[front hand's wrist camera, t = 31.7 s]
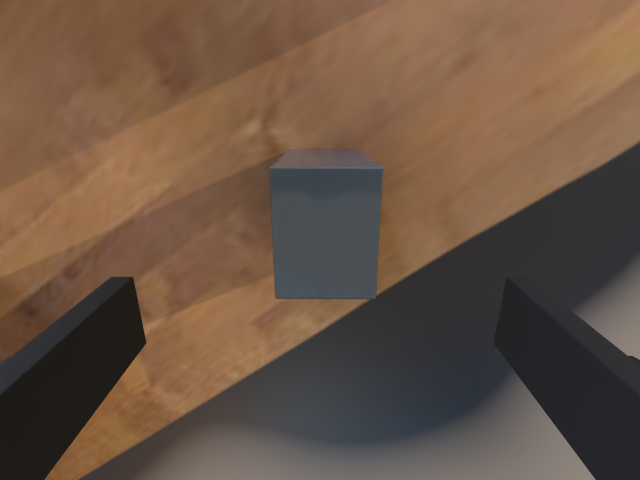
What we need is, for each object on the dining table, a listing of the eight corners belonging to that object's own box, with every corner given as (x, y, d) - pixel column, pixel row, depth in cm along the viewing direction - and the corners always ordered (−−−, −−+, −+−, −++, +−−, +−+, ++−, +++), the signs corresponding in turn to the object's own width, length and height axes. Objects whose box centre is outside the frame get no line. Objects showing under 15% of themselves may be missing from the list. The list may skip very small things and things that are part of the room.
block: (359, 241, 34) (375, 299, 23) (290, 241, 34) (275, 299, 23) (362, 150, 31) (383, 167, 20) (287, 149, 31) (268, 167, 20)
